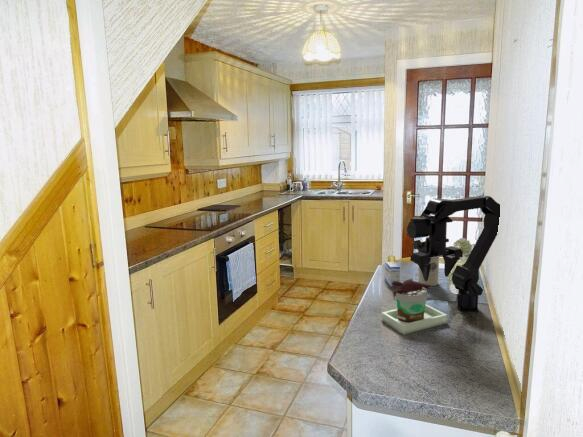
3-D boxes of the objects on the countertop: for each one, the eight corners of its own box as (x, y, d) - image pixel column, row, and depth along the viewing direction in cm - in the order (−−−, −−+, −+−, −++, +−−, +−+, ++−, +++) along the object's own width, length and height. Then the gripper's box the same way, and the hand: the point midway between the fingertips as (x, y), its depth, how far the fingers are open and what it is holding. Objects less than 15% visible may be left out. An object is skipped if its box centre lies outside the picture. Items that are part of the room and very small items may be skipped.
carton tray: (422, 310, 154) (422, 302, 153) (447, 323, 143) (447, 314, 142) (381, 320, 147) (381, 312, 146) (403, 334, 136) (403, 326, 135)
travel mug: (417, 280, 185) (417, 240, 181) (436, 280, 184) (437, 240, 180) (420, 286, 177) (420, 245, 174) (439, 286, 176) (440, 245, 173)
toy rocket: (429, 276, 170) (391, 279, 173) (431, 278, 163) (391, 280, 166) (430, 294, 170) (392, 296, 172) (433, 296, 162) (393, 298, 165)
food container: (406, 327, 139) (407, 298, 137) (394, 320, 144) (395, 292, 143) (435, 319, 144) (436, 291, 142) (423, 313, 149) (423, 286, 147)
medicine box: (384, 280, 186) (384, 261, 184) (394, 280, 186) (394, 261, 185) (390, 286, 178) (390, 267, 177) (400, 286, 179) (400, 266, 177)
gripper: (441, 227, 156) (440, 268, 159) (400, 234, 149) (400, 276, 152) (464, 233, 146) (463, 276, 149) (422, 240, 139) (421, 285, 142)
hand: (436, 278), depth 148 cm, fingers open, 9 cm apart
